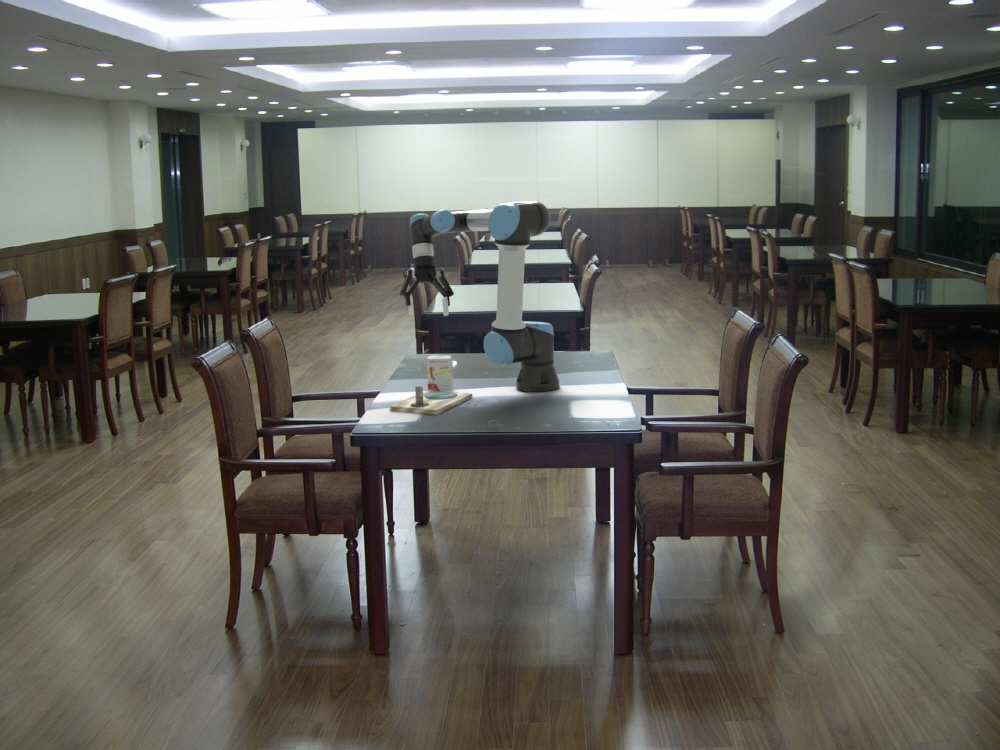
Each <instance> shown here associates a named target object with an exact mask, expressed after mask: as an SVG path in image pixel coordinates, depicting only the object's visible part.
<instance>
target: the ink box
mask: <svg viewBox="0 0 1000 750" xmlns="http://www.w3.org/2000/svg"><path fill="white" fill-rule="evenodd" d="M453 365H454V364H453V356H452V355H429V356H428V357H427V358H426V374H427V375H426V376H427V377H426V378H427V390H435V391H448V392H453V389H454V372H453V371H454V368H453V367H454V366H453Z"/></svg>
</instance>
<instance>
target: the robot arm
mask: <svg viewBox="0 0 1000 750" xmlns="http://www.w3.org/2000/svg"><path fill="white" fill-rule="evenodd" d="M409 223H410V224H409V230H410V238H411V248H412V257H413V259H412V260H413V268H414V270H413V269H411V268H410V269H407V270H406V273H405V279H404V282H403V285H402V287H401V289H400V292H399V296H401V297H402V296H403V298H404V299H405V305H406V307H408V316H409V317H410V316H413V315H414V314H415V311H414V298H413V295H412V294H413V292H414V290H415V289H416V288H417V286H418V285H420V284H431V285H432V286H434V288H435V289H436V290H437V291H438V292H439V294H440V295H441V296H442V297H443V298H441V301H442V310H443V317H447V316H449V314H450V313H449V311H450V310H449V307H450V305H451V301H450V298H451V297H452V296H454V295H455V292H454V291H453V289H452V287H451V285H450V284H449V282H448V280H447V278H446V276H445V271H444V270H443V269H440V270H437V269H436V263H435V257H434V255H435V251H434V242H433V238H436V237H438V236H439V235H443V234H445V235H446V234H453V233H454V234H456V233H467V232H468V233H469V232H490V233H489V234H490V236H491V238H493V239H494V245H496V246H497V248H498V266H497V267H498V271H497V294H496V295H497V296H496V319H495V320H493V322H492V323H491V331H490V332H488V333H487V334H486V336H484V338H483V349H484V350H483V351H484V353H485V355H486V357H487V358H488V359H489V361H490V362H491V363H493V364H494V365H496V366H510V365H512V364H517V363H520V368H519V371H518V375H517V378H516V381H515V389H517V390H519V391H522V392H529V393H530V392H531V393H533V392H535V393H539V392H540V393H541V392H549V391H555V390H557V389H559V388H560V387H561V386H560V379H559V375H558V371H556V366H555V341H554V340H555V338H554V337H555V334H554V326H553V325H552V324H551V323H549V322H542V321H532V320H531V321H528V320H527V321H525V320H523V306H524V305H523V303H524V302H523V301H524V283H525V282H524V281H525V280H524V278H525V263H526V261H525V259H526V256H525V255H526V249H527V248H528V247H529V246H530V245H531V238H532V237H537V236H540V235H543V233H545V232H546V231H547V230H548V228H549V226H550V224H551V213H550V211H549V209H548V208H547V206H546V205H545V204H543V203H541V202H539V201H536V200H532V201H530V200H528V201H513V202H512V201H511V202H510V201H509V202H508V201H507V202H504V203H500V204H497V205H496V206H494V208H490V209H489V208H488V209H467V210H457V211H456V210H455V211H450V210H448V209H447V208H446V209H440V210H437V211H434V212H433V213H432V214H430V215H429V214H426V213H417V214H413V215H412V216H411V217H410V219H409ZM413 276H414V277H415V279H414V281H413V283H412V284H411V285H410V282H411V279H412V277H413ZM438 279H439V280H438ZM409 285H410V287H409ZM408 287H409V288H408Z"/></svg>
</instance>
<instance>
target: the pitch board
mask: <svg viewBox="0 0 1000 750" xmlns="http://www.w3.org/2000/svg"><path fill="white" fill-rule="evenodd" d="M423 387H424V386H423V385H416V386H415V387H414V390H415V391H414V392H415V395H413V396H411V397H409V398H406V399H404V400H401V401H398V402H395V403H394V404H392V405H389V410H390V411H393V412H402V413H411V414H412V413H414V414H424V415H439V414H440V413H443V412H445V411H447V410H449V409H451V407H452V408H453V406H454V407H456V406H458V405H460V404H462V403H464V402H463V401H465V402H467V401H468V399H469V400H471V399H473V398H472V397H474V396H473V393H470V392H462V391H461V392H457V391H435V390H428V389H427V390H425V391H424V388H423ZM470 398H471V399H470ZM466 400H467V401H466ZM461 402H462V403H461ZM459 403H460V404H459ZM457 404H458V405H457ZM455 405H456V406H455Z"/></svg>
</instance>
